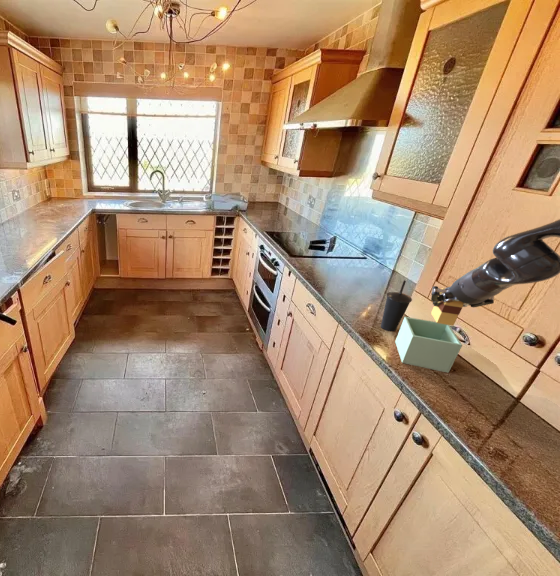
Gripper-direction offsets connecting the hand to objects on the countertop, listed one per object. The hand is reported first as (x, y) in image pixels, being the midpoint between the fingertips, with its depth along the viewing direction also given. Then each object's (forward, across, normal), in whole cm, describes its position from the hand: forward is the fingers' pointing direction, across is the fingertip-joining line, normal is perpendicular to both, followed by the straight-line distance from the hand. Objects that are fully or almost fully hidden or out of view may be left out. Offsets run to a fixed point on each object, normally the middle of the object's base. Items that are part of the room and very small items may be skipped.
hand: (444, 304), depth 93 cm
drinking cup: (+25, +7, +3) cm, 26 cm away
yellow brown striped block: (+1, 0, +4) cm, 5 cm away
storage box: (+14, 0, +14) cm, 20 cm away
